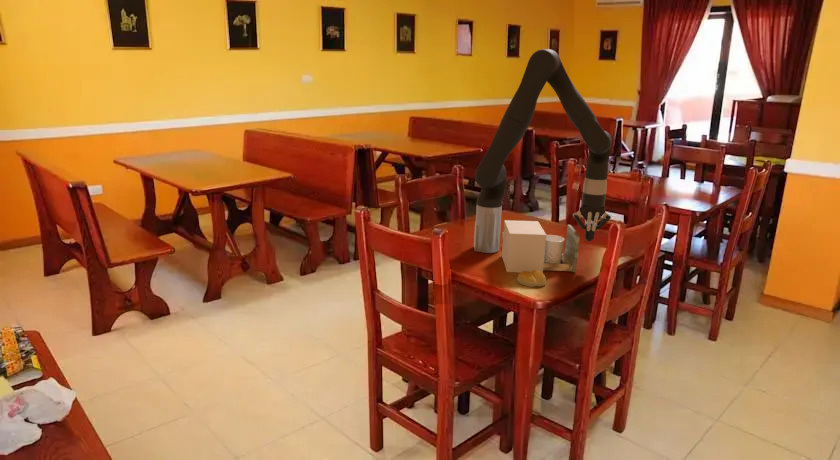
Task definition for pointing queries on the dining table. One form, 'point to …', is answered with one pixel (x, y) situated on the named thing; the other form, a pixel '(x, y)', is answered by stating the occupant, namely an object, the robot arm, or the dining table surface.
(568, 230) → the carrier
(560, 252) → the white cup
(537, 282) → the bread roll
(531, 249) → the white upright box
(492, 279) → the dining table surface
